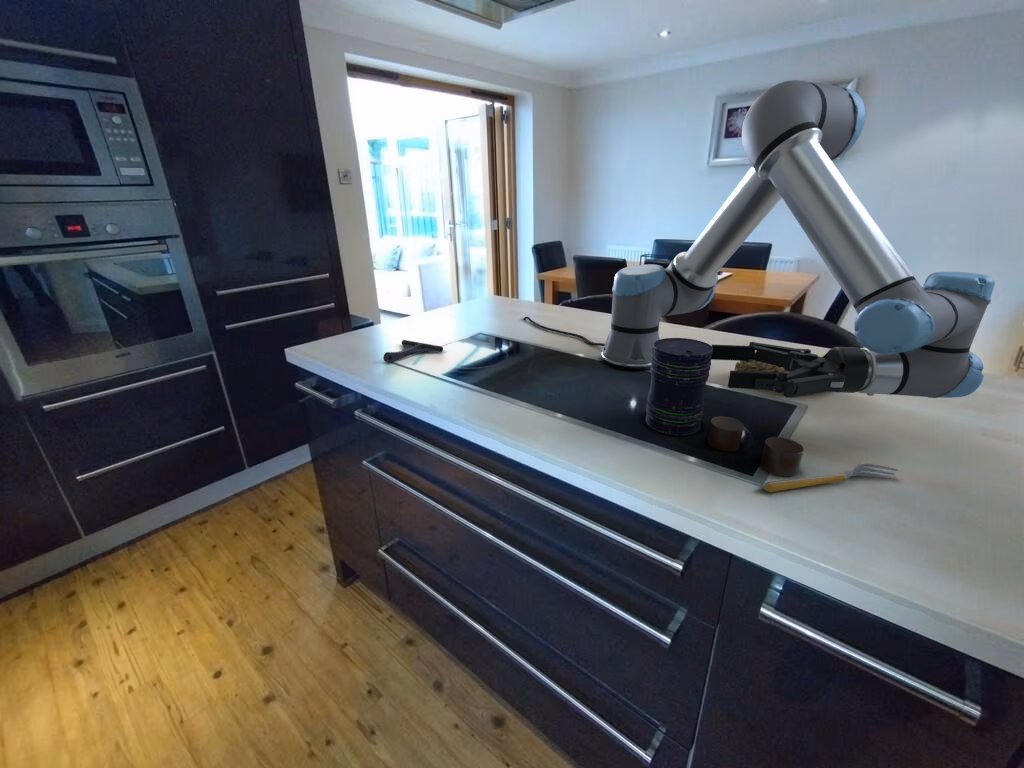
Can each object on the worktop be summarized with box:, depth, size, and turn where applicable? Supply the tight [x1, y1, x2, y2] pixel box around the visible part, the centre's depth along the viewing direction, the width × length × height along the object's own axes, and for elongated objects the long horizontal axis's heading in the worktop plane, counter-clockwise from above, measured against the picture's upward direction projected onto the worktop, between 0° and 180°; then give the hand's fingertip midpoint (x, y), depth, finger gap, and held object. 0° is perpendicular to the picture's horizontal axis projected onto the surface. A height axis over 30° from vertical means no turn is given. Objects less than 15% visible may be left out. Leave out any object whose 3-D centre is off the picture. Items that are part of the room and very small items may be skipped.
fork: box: [763, 462, 899, 493], centre depth 63 cm, size 2×2×20 cm
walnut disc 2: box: [760, 436, 805, 478], centre depth 67 cm, size 5×5×4 cm
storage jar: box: [645, 337, 713, 436], centre depth 79 cm, size 10×10×15 cm
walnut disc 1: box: [706, 415, 745, 453], centre depth 74 cm, size 5×5×4 cm
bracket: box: [383, 339, 444, 364], centre depth 121 cm, size 14×15×3 cm
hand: (719, 364), depth 76 cm, fingers open, 13 cm apart
